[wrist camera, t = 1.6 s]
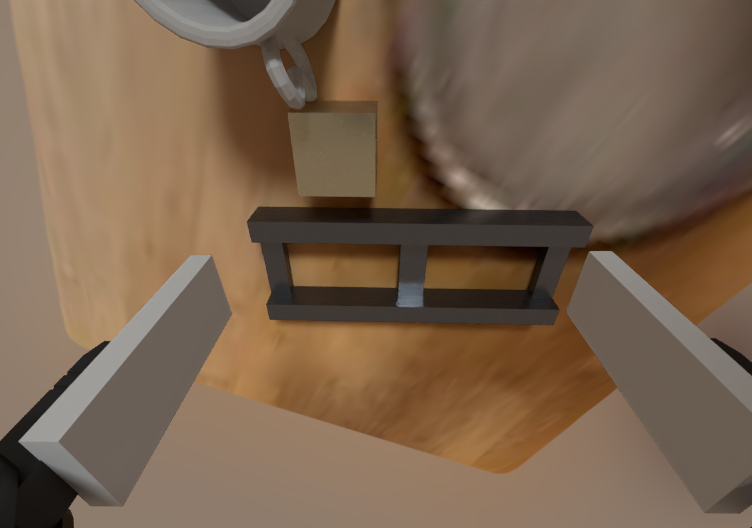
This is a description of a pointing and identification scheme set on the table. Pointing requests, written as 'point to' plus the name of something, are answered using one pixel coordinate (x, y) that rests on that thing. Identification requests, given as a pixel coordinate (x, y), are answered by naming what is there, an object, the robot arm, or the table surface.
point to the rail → (416, 262)
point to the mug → (252, 33)
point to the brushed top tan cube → (335, 148)
